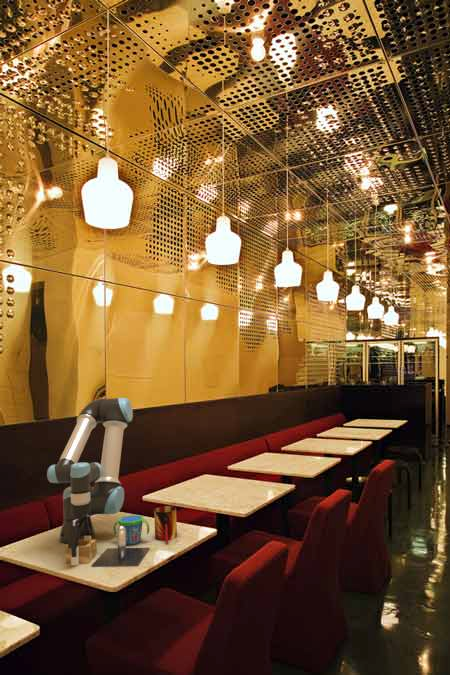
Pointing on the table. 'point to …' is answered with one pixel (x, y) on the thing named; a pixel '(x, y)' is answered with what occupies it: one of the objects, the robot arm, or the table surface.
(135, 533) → the snack cup
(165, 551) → the table surface
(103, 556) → the post stand
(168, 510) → the mug
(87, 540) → the square wooden frame
